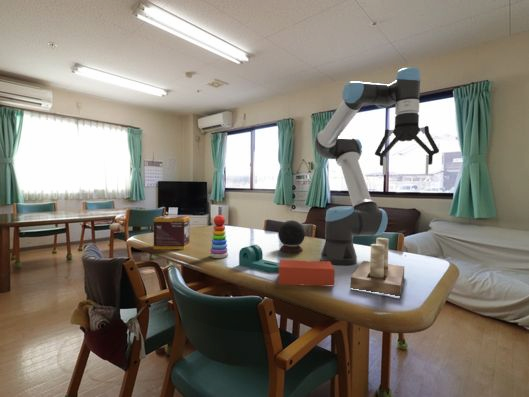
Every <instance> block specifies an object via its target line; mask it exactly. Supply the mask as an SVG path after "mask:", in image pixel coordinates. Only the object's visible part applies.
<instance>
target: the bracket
mask: <svg viewBox="0 0 529 397" xmlns="http://www.w3.org/2000/svg"><path fill="white" fill-rule="evenodd" d="M263 256H264V254H263V250H262V247H260V245H259V244H252V245H249V246H245V247H242V248H240V250H239V252H238V265H239V266H241V267H244V268H249V269H253V270H257V271H261V272H264V273H265V272H266V273H270V274H277V273H278V274H279V262H276V261H271V260H267V259H263Z"/></svg>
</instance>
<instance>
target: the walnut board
mask: <svg viewBox="0 0 529 397" xmlns="http://www.w3.org/2000/svg"><path fill="white" fill-rule="evenodd" d="M389 241H390V239H389V238H386V237H376V240H375V244H381V245H384V246H385V250H384V280H378V279H372V278H370V260H369V261H368V260H362V262H361V263H360V265H359V266H358V267H357V269H356V270H355V271H354V272H353V273H352V275H351V276H350V288H353V289H359V290H366V291H371V292H379V293H384V294H390V295H395V296H400V294H401V295H402V291H401V289H403V286H402V284H403V285H404V280H405V265H404V266H403V265H398V264H389V246H390V245H389ZM403 279H404V280H403ZM350 288H349V289H350ZM400 297H401V296H400Z"/></svg>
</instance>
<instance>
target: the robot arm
mask: <svg viewBox="0 0 529 397" xmlns="http://www.w3.org/2000/svg"><path fill="white" fill-rule="evenodd" d="M421 81H422V80H421V70H420V69H419V68H418V67H414V66H410V67H403V68H401V69H399V70H398V71H397V72H396V77H395V81H393V82H392V83H390V84H384V83H372V82H366V81H365V82H363V81H348V82H347V83H346V84H345V85H344V87H343V90H342V102H341V103H340V104H339V106H338V107H337V109H336V110H335V112H334V113H333V115H332V116H331V118H330V119H329V121H328V122H327V124H326V125H325V127H324V128H323V130H320V131H319V132H318V133H317V135H316V137H315V139H314V147H315V148H314V149H315V151H316V153H317V154H318V155H319V156H320V157H322V158H324V159H327V160H328V159H329V160H335V162H336V164H337V165H338V166H339V167H341V170H342V175H343V177H344V181H345V184H346V188H347V191H348V194H349V197H350V201H351V204H352V206H351V205H342V206H341V205H339V206H333V207H330V208H328V209H327V210H326V213H325V218H324V219H325V232H324V233H325V235H324V236H325V238H324V239H325V241H324V244H323V248H322V250H321V253H320V260H321V261H330V262H331V264H332V265H338V266H352V265H355V264H356V263H358V256H357V252H356V249H355V246H354V237H364V236H365V237H369V236H370V237H374V236H380V235H382V234H383V233H384V232H385V231H386V229H387V226H388V222H389V221H388V220H389V219H388V214H387V212H386V211H385V210H384V209H382V208H379V206H378V204H377V202H376V201H374V200H372V198H371V195H370V192H369V189H368V186H367V183H366V180H365V177H364V173H363V171H362V168H361V166H360V163H359V160H360V159H361V155H362V153H363V150H362V149H363V145H362V143H361V141H360V139H359V138H357V137H354V136H353V137H352V136H348V135H347V136H340V135H341V134H342V133H343V131H344V130H345V129H346V127H347V126H348V125H349V123H350V122H351V121H352V119H354V117H355V116H356V114H357V113H358V112H359V111H360V109H361V108H362V107H363V106H364V105H375V106H376V107H377V108H378V109H386V108H389V107H391V106H394V105H395V110H394V114H395V116H394V128H393V129H388V128H386V129H385V130H384V136H383V137H382V139H381V141H380V143H379V144H378V147H377V148H376V150H375V152H374V155H375V156H378V157H379V166H380V167H381V166H382V175H384V176H386V174H387V157H386V155H387V154H388V153H389V152H390V151H391V150H392V148H393V147H394V146H395V145H396V144H397V143H398V142H411V141H415V142H416V143H417V144H418V145H419V146H420V147H421V149H423V150H424V151H425V153H427V154H426V156H425V174H424V175H429V165H433V156H434V155H435V154H439V152H440V149H439V147H438V145H437V144H436V142H435V140H434V139H433V136H432V135H431V133H430V128H429V125H426V126H423V127H420V125H419V123H420V122H419V118H420V115H419V112H420V96H421V95H420V94H421V93H420V92H421ZM420 132H421V133H422V134H423V135H425V137H426V139H427V141H428V143H429V144H430V146H431V148H432V149H430V148H429V147H428V146H427V145H426V144H425V143H424V141H422V139H420V137H419V136H418V134H420ZM392 134H393V135H394V136H395V137H394V138H393V139H392V140H391V141H390V143H389V144H388V145H387V146H386V147H385V145H386V143H387V142H388V139H389V137H391V136H392ZM384 147H385V149H384ZM382 150H383V151H382ZM381 151H382V152H381Z"/></svg>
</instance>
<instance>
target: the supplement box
mask: <svg viewBox="0 0 529 397" xmlns="http://www.w3.org/2000/svg"><path fill="white" fill-rule="evenodd" d="M190 237H191V236H190V216H189V215H188V216H186V215H185V216H183V215H181V216H180V215H162V216H158V217H154V218H153V250H171V249H184V250H185V249H187V248H188V247H189V246H190V244H191V243H190ZM186 247H187V248H186Z"/></svg>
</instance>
